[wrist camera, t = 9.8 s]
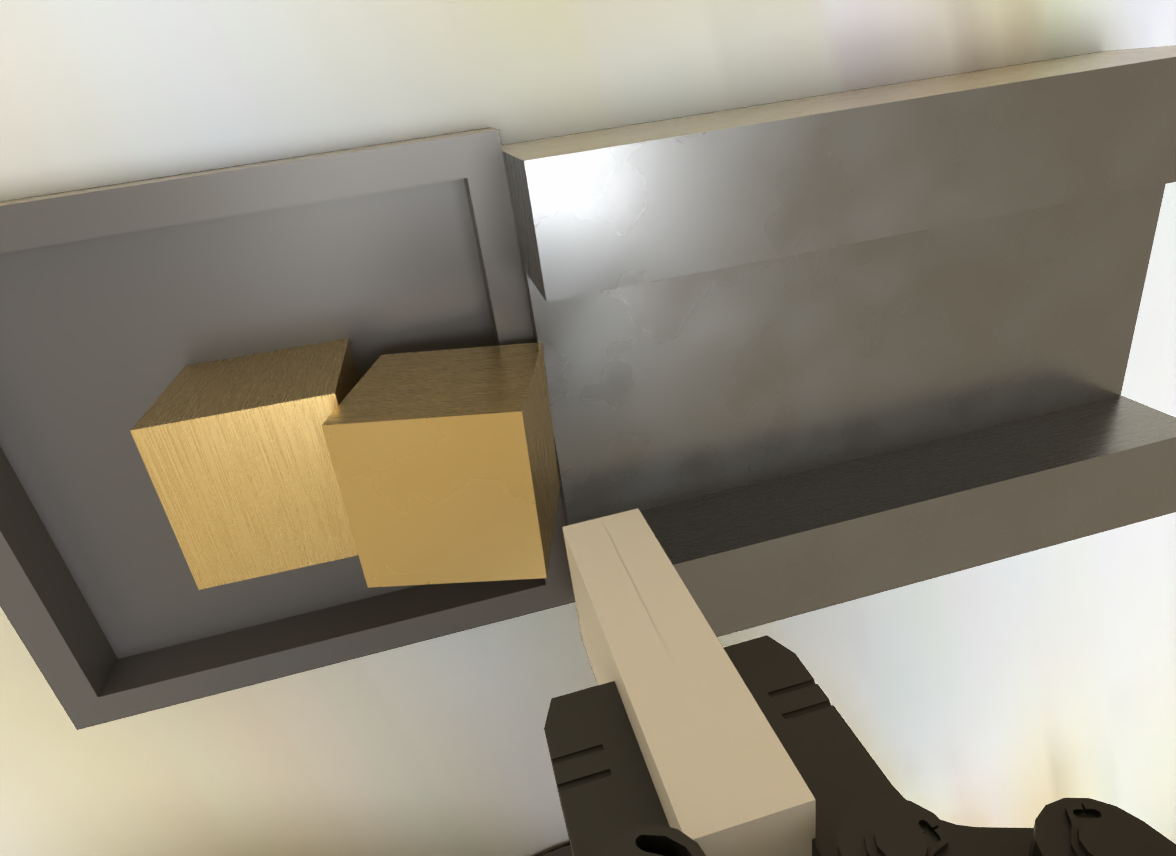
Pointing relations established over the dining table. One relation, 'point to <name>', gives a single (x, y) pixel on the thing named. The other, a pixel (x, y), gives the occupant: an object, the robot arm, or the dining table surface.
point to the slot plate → (856, 326)
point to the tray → (214, 332)
